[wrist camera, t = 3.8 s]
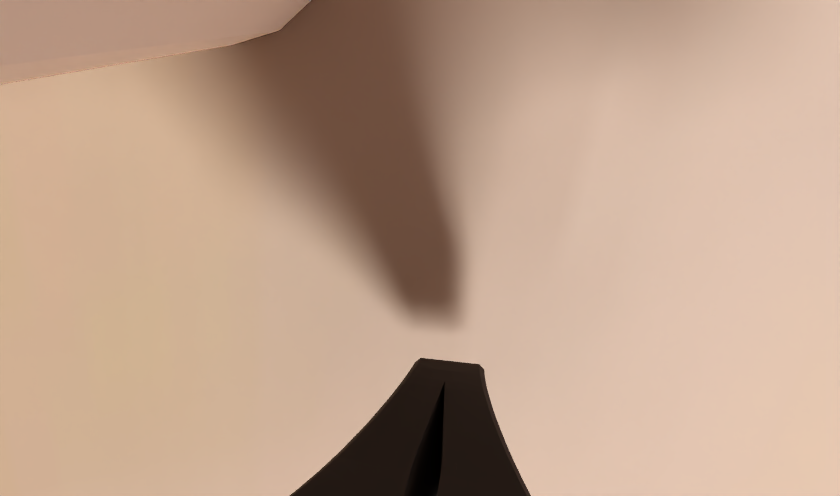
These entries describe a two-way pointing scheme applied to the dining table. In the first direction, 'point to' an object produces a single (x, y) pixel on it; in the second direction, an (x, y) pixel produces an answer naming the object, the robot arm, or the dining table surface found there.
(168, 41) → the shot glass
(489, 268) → the dining table surface
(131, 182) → the dining table surface
